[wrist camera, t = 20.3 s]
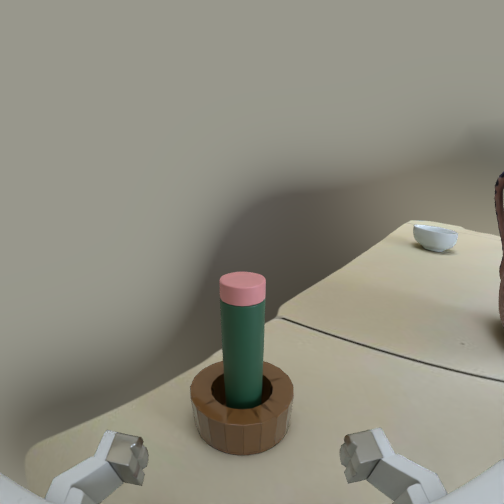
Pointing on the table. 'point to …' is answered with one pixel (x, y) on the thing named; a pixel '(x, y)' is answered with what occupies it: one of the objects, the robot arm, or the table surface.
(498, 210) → the ceramic pitcher
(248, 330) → the pink-capped green cylinder
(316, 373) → the table surface
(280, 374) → the brown hollow cylinder
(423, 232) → the cereal bowl
